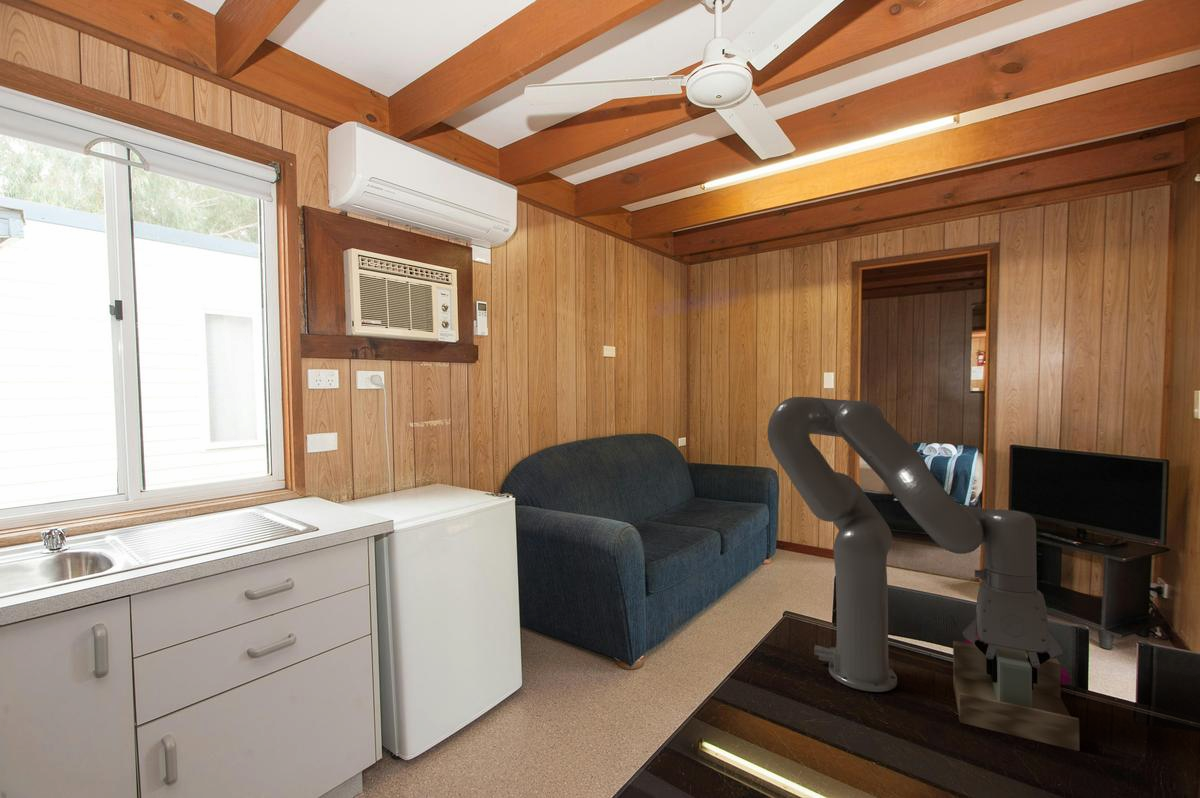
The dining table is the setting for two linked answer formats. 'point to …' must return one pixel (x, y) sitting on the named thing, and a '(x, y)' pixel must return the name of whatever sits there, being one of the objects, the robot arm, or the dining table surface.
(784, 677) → the dining table surface
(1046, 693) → the wall board
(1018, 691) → the cabinet block
